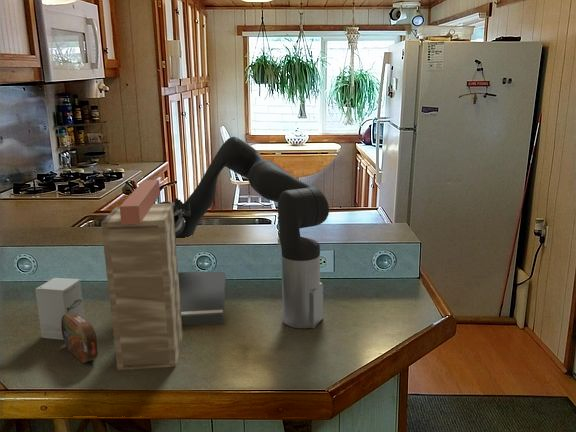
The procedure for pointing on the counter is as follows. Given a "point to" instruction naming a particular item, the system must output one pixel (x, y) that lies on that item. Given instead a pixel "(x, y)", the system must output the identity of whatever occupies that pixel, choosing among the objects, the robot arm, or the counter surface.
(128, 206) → the bar
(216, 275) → the mat
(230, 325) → the counter surface
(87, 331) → the tin
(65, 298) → the supplement box
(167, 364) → the shelf stand
